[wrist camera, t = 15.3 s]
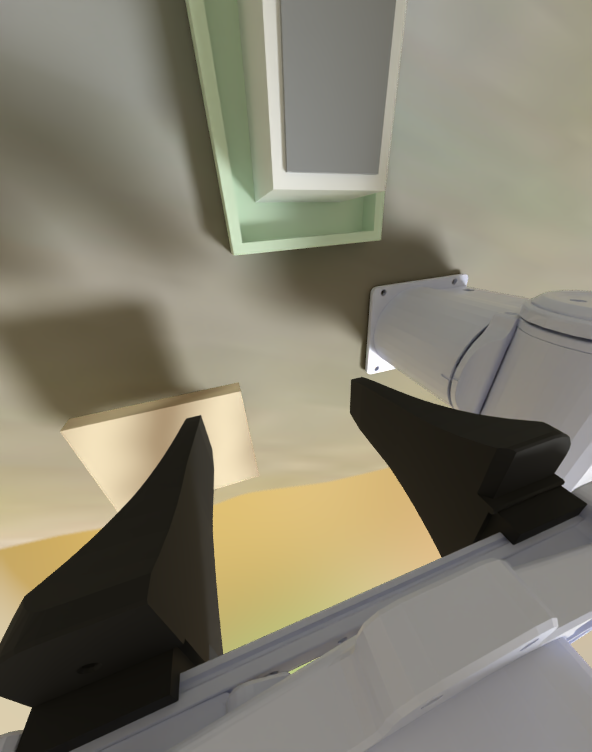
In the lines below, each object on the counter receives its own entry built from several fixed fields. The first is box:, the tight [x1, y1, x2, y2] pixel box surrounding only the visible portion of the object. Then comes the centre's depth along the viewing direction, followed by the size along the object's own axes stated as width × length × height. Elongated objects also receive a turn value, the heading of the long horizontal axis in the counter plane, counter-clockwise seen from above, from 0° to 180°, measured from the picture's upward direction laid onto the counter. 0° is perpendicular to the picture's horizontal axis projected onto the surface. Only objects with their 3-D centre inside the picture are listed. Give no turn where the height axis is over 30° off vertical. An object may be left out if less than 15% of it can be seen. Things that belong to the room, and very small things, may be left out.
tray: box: [185, 0, 385, 256], centre depth 14 cm, size 10×12×2 cm
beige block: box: [60, 383, 259, 512], centre depth 18 cm, size 9×8×7 cm
